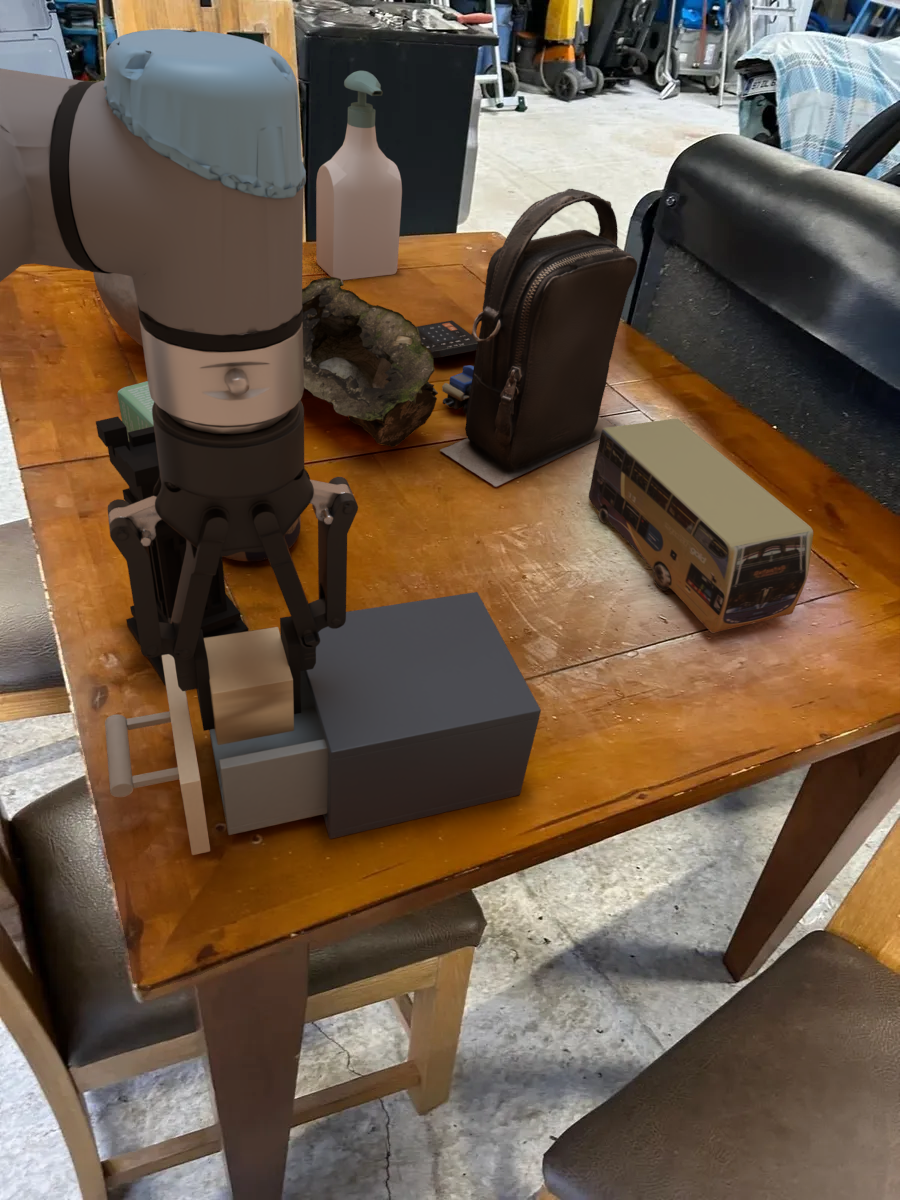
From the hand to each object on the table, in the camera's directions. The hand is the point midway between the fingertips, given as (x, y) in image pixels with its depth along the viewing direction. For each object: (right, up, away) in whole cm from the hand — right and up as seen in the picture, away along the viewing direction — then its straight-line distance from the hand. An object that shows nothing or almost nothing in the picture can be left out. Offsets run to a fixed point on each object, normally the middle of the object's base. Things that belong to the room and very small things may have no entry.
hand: (249, 706), depth 60 cm
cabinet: (+10, -4, +9) cm, 14 cm away
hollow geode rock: (+1, +29, +46) cm, 55 cm away
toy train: (+21, +34, +55) cm, 68 cm away
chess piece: (-8, +4, +16) cm, 18 cm away
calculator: (+13, +42, +62) cm, 76 cm away
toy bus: (+37, +11, +31) cm, 49 cm away
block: (0, 0, 0) cm, 0 cm away
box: (-15, +21, +35) cm, 43 cm away
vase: (-20, +39, +54) cm, 70 cm away
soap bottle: (-1, +59, +79) cm, 98 cm away
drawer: (-1, -5, +5) cm, 7 cm away
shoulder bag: (+24, +26, +46) cm, 58 cm away
